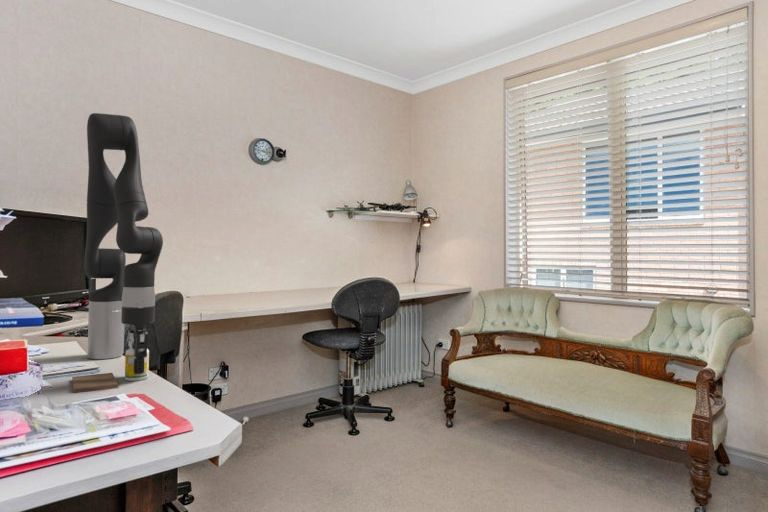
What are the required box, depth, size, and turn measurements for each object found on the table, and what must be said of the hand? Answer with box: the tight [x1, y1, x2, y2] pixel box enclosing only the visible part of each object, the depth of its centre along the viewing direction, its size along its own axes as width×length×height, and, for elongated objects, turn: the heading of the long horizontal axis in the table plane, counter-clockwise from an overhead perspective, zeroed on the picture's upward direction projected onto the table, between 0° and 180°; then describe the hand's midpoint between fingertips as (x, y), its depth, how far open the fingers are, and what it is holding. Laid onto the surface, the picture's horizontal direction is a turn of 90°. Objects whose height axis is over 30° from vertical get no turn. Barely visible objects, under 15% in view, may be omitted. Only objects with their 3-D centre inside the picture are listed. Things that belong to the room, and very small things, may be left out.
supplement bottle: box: [124, 340, 150, 382], centre depth 119 cm, size 5×5×10 cm
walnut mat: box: [71, 372, 118, 394], centre depth 113 cm, size 13×9×1 cm, turn 35°
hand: (136, 370), depth 119 cm, fingers closed on supplement bottle, 5 cm apart
